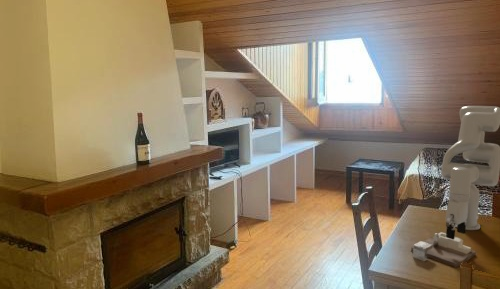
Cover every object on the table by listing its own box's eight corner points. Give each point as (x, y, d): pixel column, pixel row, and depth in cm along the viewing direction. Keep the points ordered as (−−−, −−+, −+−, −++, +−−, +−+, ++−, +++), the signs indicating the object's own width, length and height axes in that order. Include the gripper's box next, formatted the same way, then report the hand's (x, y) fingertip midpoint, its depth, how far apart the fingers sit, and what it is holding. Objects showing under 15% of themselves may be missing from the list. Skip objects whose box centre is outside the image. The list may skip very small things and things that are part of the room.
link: (434, 243, 168) (435, 235, 168) (440, 240, 171) (441, 232, 171) (466, 254, 158) (466, 245, 157) (471, 250, 161) (472, 241, 160)
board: (431, 240, 175) (431, 237, 175) (475, 254, 160) (475, 251, 160) (411, 250, 165) (411, 247, 165) (456, 267, 150) (456, 264, 150)
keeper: (420, 252, 163) (421, 240, 162) (431, 257, 159) (432, 244, 158) (412, 257, 159) (413, 244, 158) (424, 261, 156) (425, 248, 155)
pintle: (434, 245, 167) (435, 232, 166) (439, 246, 165) (440, 233, 164) (432, 246, 166) (433, 233, 165) (436, 247, 164) (437, 234, 163)
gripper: (459, 191, 168) (456, 228, 171) (439, 198, 158) (436, 237, 160) (477, 195, 162) (474, 233, 165) (458, 202, 152) (455, 243, 154)
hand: (455, 235), depth 162 cm, fingers open, 9 cm apart
